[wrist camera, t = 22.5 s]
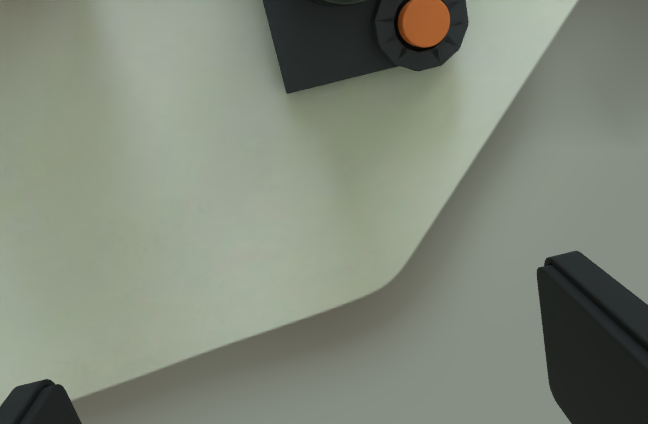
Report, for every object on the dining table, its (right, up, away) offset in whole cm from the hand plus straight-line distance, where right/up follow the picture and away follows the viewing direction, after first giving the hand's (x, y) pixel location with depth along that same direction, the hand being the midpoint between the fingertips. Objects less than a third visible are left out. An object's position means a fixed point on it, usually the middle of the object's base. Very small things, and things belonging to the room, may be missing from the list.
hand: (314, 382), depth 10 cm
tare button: (+6, +15, +24) cm, 30 cm away
